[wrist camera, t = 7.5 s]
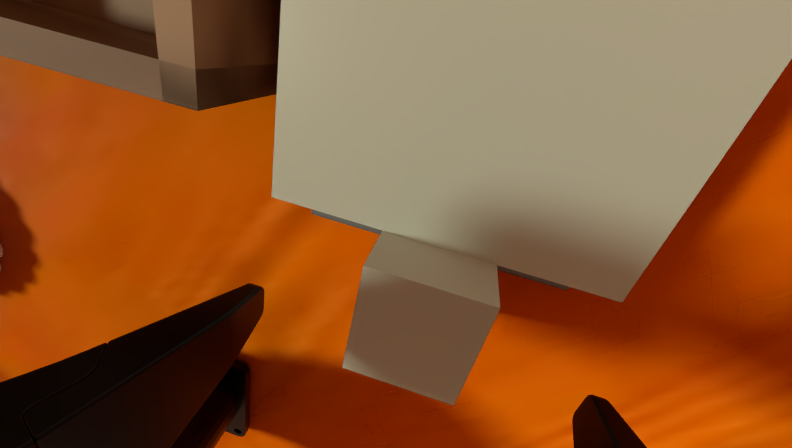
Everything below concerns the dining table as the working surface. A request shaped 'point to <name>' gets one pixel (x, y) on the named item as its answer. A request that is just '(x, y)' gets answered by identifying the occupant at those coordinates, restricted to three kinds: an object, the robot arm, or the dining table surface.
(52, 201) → the dining table surface
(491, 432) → the dining table surface
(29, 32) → the tub
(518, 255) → the lid
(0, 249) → the mooncake
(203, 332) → the robot arm
